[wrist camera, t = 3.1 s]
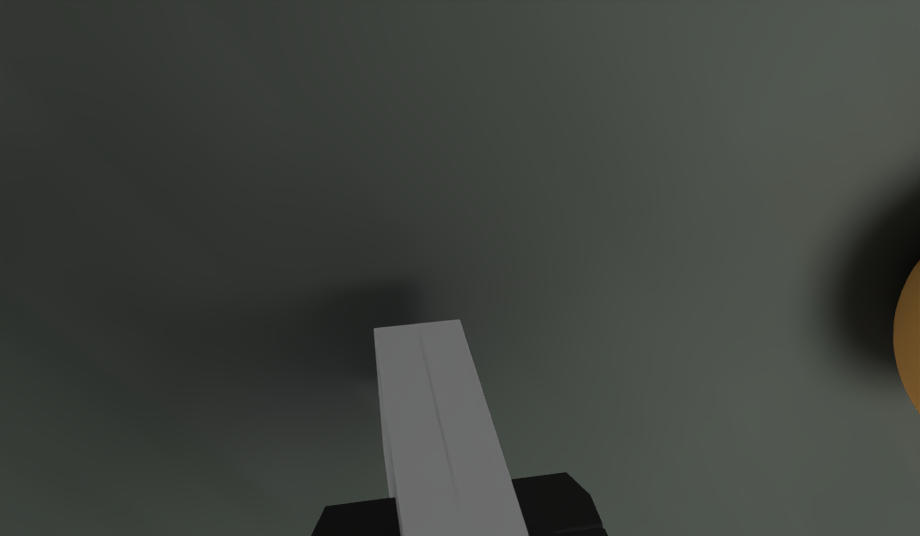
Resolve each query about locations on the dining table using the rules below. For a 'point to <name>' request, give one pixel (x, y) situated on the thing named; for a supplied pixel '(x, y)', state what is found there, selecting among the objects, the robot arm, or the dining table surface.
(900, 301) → the ball
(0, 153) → the dining table surface
